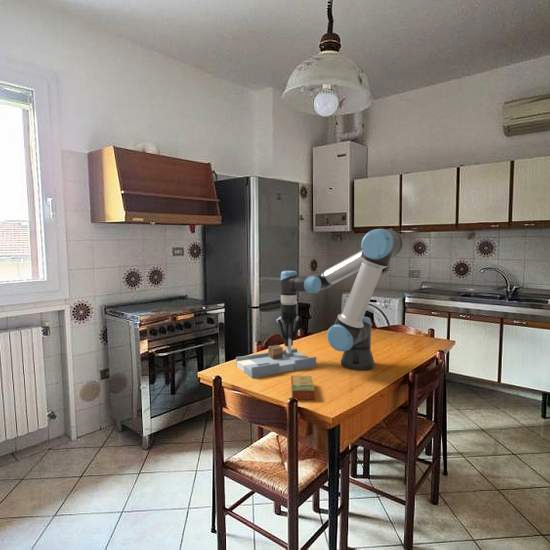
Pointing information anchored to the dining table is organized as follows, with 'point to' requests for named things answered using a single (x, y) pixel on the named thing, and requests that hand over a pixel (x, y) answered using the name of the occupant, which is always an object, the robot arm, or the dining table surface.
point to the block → (275, 352)
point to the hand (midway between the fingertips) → (288, 352)
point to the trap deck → (273, 363)
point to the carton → (302, 388)
